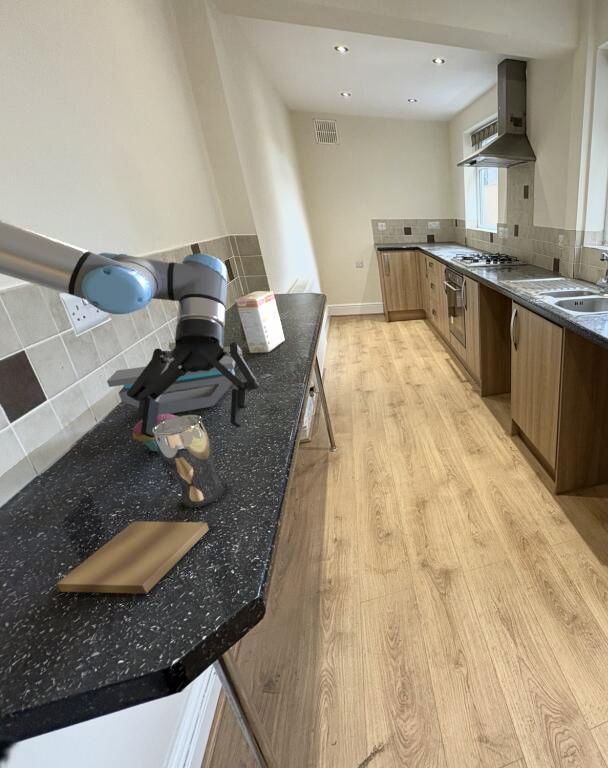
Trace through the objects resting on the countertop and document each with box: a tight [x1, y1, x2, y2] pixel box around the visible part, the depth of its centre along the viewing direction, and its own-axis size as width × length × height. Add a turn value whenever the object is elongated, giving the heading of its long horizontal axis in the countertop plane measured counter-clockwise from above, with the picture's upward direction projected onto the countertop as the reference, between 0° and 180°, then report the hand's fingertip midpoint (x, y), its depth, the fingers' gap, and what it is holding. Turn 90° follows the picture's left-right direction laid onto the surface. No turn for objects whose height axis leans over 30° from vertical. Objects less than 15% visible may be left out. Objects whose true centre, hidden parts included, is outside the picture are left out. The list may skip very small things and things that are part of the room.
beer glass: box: [152, 414, 225, 509], centre depth 71 cm, size 7×7×15 cm
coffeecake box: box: [234, 290, 286, 354], centre depth 151 cm, size 15×7×20 cm, turn 6°
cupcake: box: [131, 413, 178, 452], centre depth 88 cm, size 9×8×12 cm
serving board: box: [56, 520, 210, 594], centre depth 61 cm, size 12×12×2 cm
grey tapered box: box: [106, 354, 236, 415], centre depth 106 cm, size 25×8×11 cm, turn 118°
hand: (193, 430), depth 73 cm, fingers open, 13 cm apart
